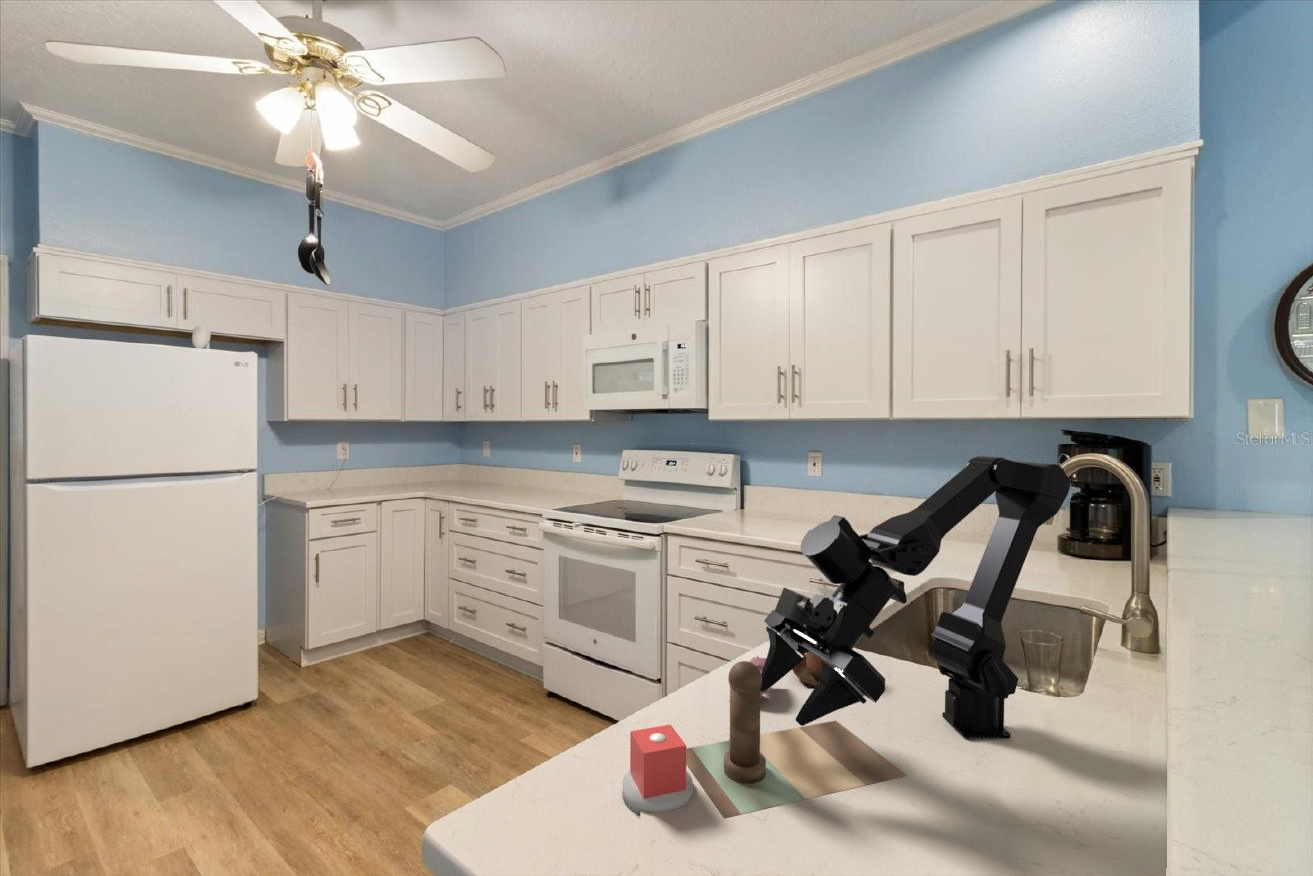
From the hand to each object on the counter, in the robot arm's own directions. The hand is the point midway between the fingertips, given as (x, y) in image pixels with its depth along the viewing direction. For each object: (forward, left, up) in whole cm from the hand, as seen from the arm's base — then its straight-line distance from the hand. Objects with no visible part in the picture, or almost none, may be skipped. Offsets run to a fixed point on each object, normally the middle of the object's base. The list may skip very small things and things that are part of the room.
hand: (777, 705), depth 74 cm
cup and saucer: (-14, -26, -8) cm, 31 cm away
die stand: (+15, +5, -8) cm, 17 cm away
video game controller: (0, -20, -8) cm, 22 cm away
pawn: (+4, +1, -7) cm, 9 cm away
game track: (-1, 0, -8) cm, 8 cm away
